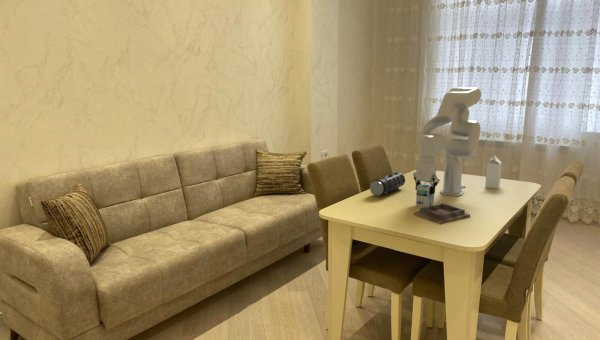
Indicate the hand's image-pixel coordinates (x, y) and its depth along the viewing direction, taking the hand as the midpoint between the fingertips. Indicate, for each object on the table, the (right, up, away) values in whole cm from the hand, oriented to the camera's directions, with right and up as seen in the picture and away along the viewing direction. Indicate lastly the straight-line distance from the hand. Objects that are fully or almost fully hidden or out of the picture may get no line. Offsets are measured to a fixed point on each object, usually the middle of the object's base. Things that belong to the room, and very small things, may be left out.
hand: (424, 191), depth 227 cm
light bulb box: (+1, -7, +2) cm, 7 cm away
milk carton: (+52, +1, +38) cm, 64 cm away
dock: (+3, -11, -17) cm, 20 cm away
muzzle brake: (-14, -2, +26) cm, 30 cm away
